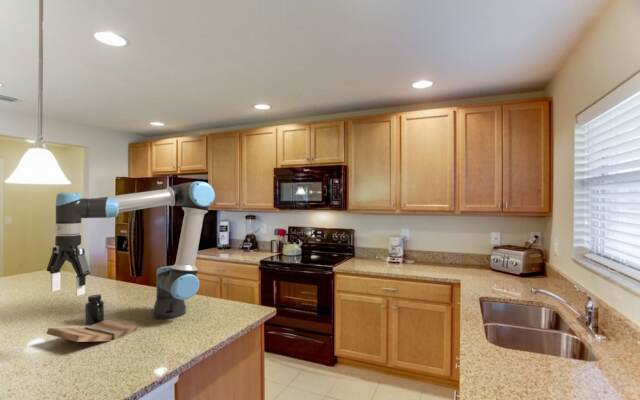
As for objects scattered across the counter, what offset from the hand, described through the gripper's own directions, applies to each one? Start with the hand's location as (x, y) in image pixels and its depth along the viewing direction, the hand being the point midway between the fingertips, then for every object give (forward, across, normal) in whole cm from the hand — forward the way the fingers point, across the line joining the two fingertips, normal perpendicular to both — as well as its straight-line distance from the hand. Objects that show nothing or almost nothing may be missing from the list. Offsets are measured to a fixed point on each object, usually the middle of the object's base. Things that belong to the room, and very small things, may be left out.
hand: (67, 292), depth 119 cm
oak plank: (+18, -1, +5) cm, 19 cm away
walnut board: (+21, -1, +18) cm, 27 cm away
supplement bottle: (+21, -17, +22) cm, 35 cm away
